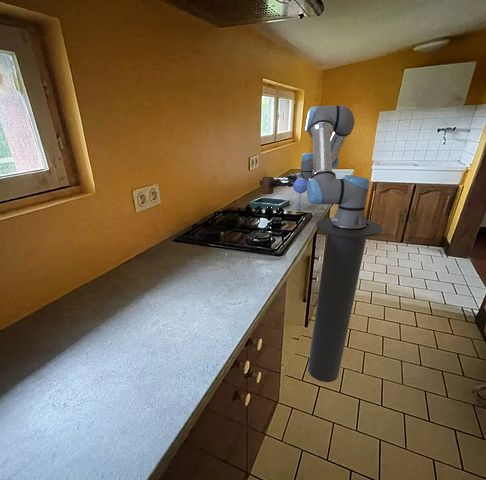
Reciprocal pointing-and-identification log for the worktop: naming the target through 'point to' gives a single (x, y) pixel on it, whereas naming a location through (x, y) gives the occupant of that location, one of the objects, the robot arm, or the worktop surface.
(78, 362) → the worktop surface
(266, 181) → the mug
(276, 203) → the tray
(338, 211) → the robot arm
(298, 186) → the baby rattle
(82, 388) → the worktop surface
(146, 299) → the worktop surface
